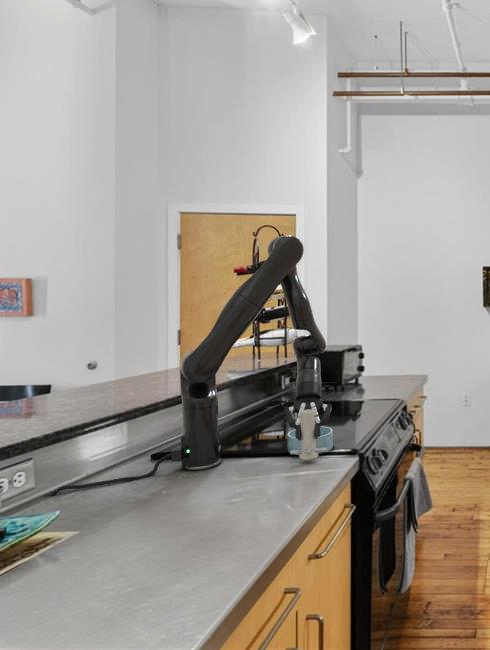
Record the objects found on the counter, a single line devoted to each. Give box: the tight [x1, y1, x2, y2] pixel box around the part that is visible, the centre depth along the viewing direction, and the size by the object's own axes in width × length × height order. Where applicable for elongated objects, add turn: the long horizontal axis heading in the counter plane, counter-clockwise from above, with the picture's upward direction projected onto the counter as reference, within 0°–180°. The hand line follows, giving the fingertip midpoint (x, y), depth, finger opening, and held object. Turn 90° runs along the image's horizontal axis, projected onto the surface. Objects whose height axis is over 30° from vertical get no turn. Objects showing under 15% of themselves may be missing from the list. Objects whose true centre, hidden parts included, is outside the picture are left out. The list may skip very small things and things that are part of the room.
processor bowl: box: [286, 425, 334, 456], centre depth 146 cm, size 14×14×6 cm
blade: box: [289, 409, 328, 461], centre depth 133 cm, size 10×9×13 cm
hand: (307, 438), depth 131 cm, fingers closed on blade, 4 cm apart
